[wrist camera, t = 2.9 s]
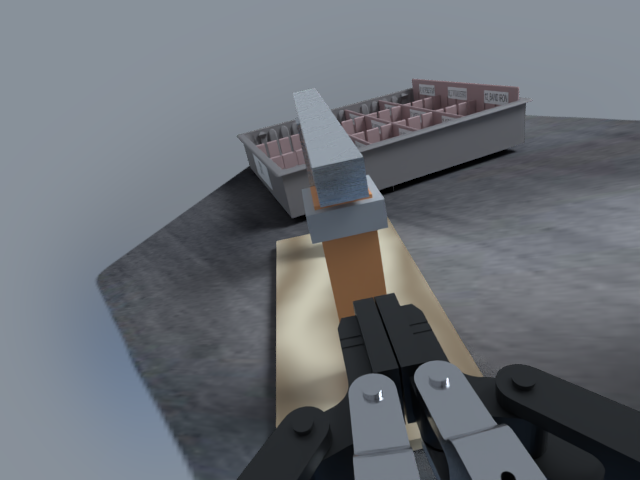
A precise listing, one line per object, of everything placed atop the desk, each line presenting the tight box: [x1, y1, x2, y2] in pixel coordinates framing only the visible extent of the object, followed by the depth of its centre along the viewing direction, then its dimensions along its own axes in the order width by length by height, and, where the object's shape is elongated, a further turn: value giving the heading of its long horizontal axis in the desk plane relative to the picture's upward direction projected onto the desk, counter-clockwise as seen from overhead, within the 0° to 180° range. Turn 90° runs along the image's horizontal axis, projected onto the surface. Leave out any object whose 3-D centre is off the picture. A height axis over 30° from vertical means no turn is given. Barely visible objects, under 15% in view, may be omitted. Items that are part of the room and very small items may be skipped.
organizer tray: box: [237, 79, 532, 218], centre depth 72 cm, size 32×40×10 cm
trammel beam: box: [293, 88, 369, 207], centre depth 35 cm, size 3×27×17 cm, turn 5°
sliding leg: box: [302, 175, 388, 323], centre depth 25 cm, size 4×4×14 cm
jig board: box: [276, 217, 483, 451], centre depth 38 cm, size 14×30×1 cm, turn 5°
